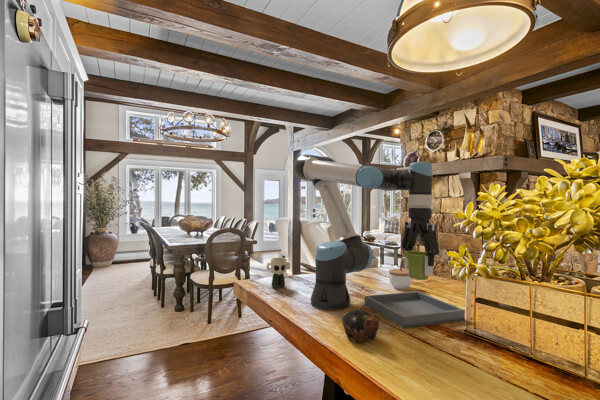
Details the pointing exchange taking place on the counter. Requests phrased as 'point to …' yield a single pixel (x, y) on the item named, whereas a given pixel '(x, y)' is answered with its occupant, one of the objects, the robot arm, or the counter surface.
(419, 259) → the plant pot
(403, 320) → the walled tray
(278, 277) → the character mug
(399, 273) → the lidded jar
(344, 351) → the counter surface
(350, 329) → the decorative turtle
